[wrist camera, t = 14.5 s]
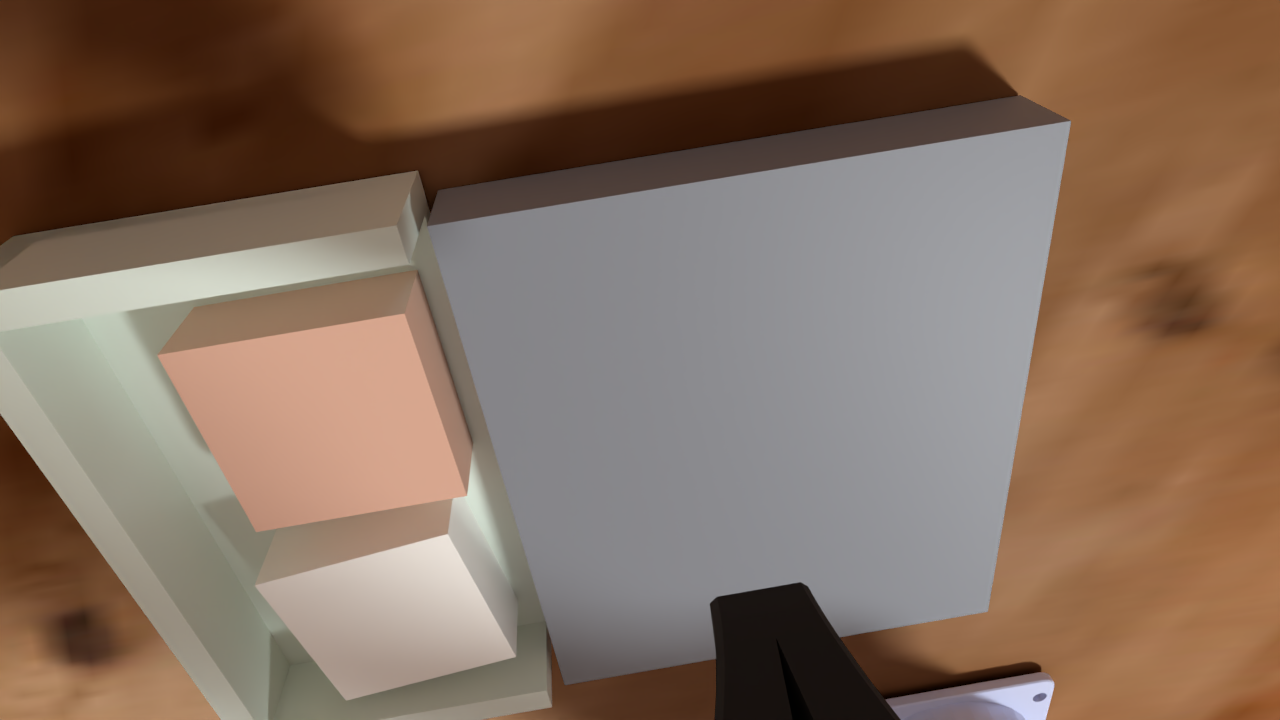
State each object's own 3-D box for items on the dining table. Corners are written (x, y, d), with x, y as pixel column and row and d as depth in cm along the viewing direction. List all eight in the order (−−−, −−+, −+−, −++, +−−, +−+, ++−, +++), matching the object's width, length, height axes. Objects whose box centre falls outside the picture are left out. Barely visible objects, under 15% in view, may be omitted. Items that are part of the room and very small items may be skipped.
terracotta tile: (473, 443, 20) (467, 495, 19) (279, 476, 20) (256, 532, 19) (417, 269, 18) (404, 313, 16) (194, 307, 18) (157, 355, 16)
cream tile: (518, 599, 24) (516, 657, 22) (359, 641, 24) (346, 700, 22) (455, 479, 21) (447, 534, 19) (277, 527, 21) (254, 585, 19)
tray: (551, 621, 25) (552, 707, 23) (279, 668, 25) (250, 759, 23) (418, 170, 17) (396, 225, 14) (13, 236, 17) (-80, 303, 14)
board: (958, 562, 26) (987, 611, 24) (563, 630, 25) (564, 685, 24) (1020, 95, 17) (1071, 120, 16) (438, 190, 17) (427, 226, 16)
